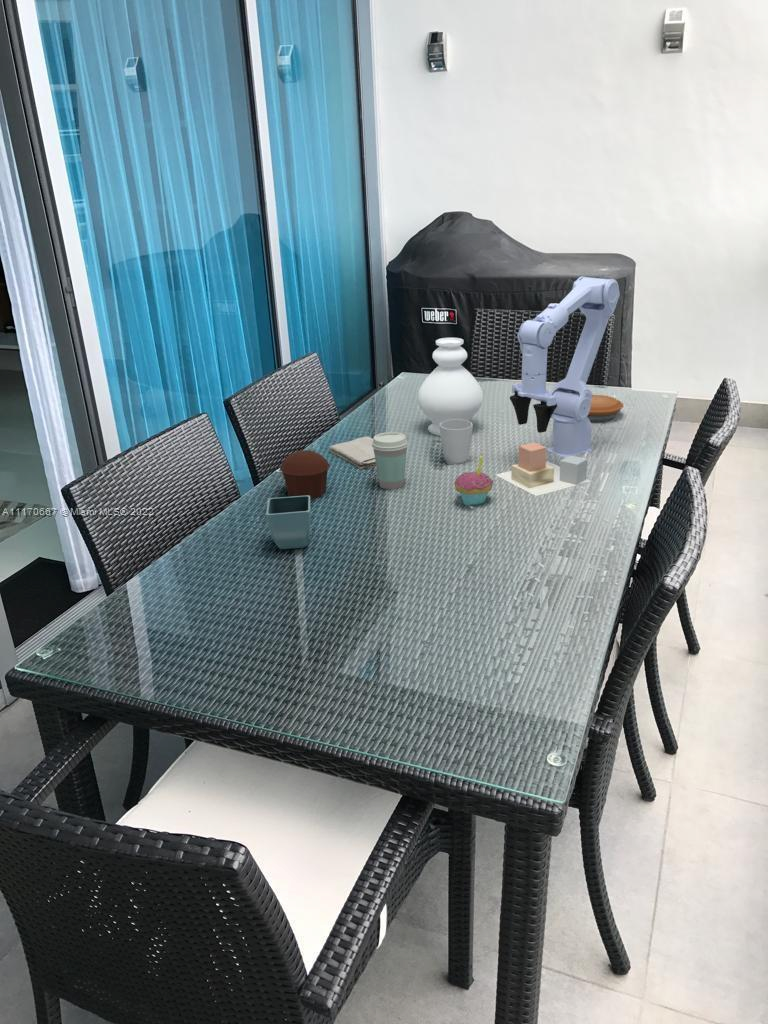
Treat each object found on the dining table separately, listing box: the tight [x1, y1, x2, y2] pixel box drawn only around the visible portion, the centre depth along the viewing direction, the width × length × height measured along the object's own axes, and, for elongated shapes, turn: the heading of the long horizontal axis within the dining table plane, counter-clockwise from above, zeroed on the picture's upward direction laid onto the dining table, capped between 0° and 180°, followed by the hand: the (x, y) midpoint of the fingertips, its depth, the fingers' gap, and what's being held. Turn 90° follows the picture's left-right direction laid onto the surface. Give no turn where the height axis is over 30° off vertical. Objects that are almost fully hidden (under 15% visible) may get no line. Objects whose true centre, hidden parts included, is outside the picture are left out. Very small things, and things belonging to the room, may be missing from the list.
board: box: [495, 461, 591, 497], centre depth 208 cm, size 16×16×1 cm
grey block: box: [559, 455, 588, 486], centre depth 204 cm, size 4×4×5 cm
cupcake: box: [454, 453, 494, 507], centre depth 195 cm, size 9×8×12 cm
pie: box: [587, 394, 624, 423], centre depth 250 cm, size 15×16×5 cm
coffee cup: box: [372, 431, 409, 490], centre depth 207 cm, size 8×8×12 cm
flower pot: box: [265, 495, 311, 550], centre depth 180 cm, size 9×9×9 cm
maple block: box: [511, 463, 554, 488], centre depth 205 cm, size 7×7×4 cm
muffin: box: [279, 449, 331, 501], centre depth 205 cm, size 12×11×10 cm
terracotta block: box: [517, 441, 547, 472], centre depth 204 cm, size 4×4×5 cm
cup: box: [440, 419, 473, 466], centre depth 219 cm, size 8×8×10 cm
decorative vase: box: [417, 337, 484, 437], centre depth 240 cm, size 18×18×25 cm
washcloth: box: [328, 436, 377, 470], centre depth 228 cm, size 12×18×3 cm, turn 33°
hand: (532, 427), depth 211 cm, fingers open, 7 cm apart
